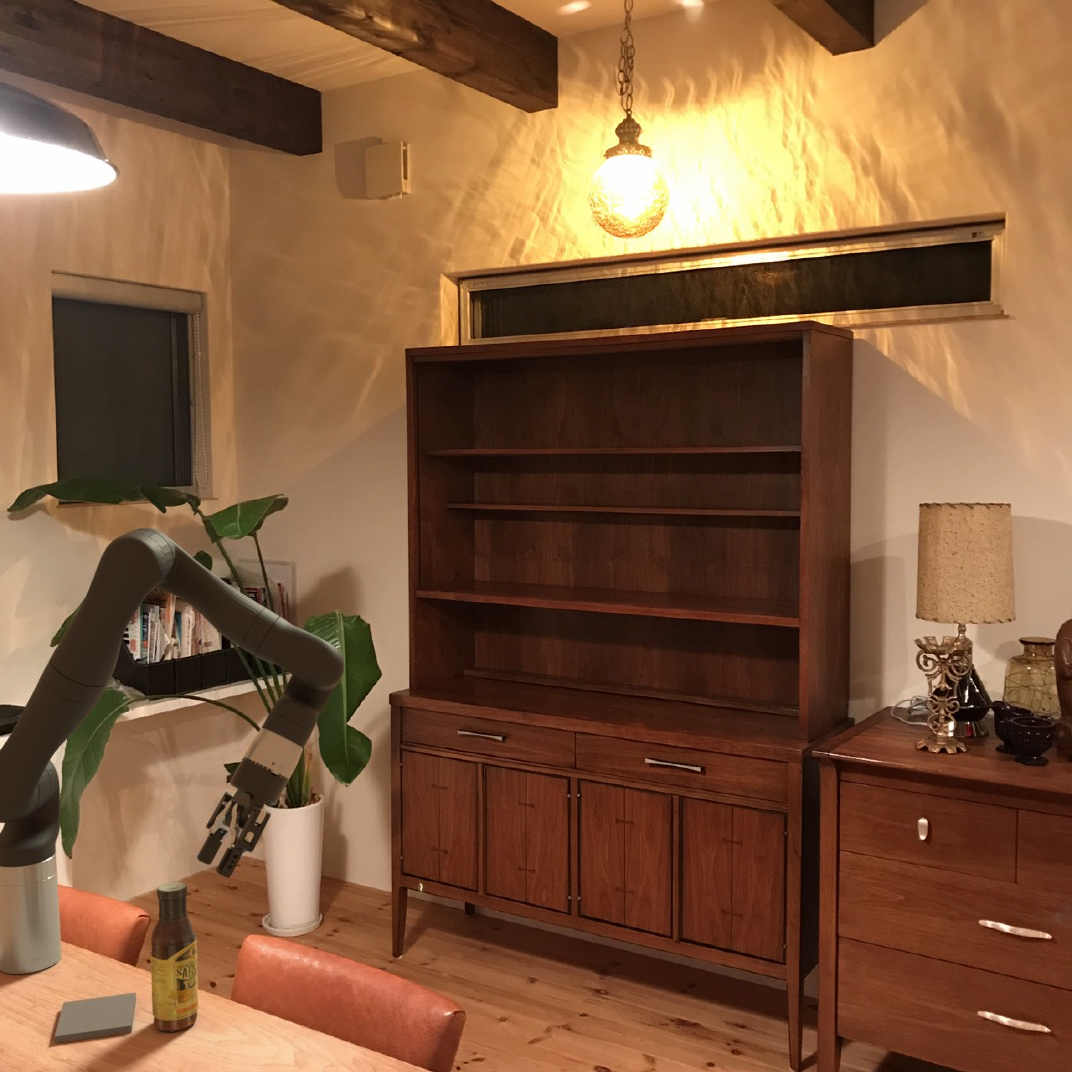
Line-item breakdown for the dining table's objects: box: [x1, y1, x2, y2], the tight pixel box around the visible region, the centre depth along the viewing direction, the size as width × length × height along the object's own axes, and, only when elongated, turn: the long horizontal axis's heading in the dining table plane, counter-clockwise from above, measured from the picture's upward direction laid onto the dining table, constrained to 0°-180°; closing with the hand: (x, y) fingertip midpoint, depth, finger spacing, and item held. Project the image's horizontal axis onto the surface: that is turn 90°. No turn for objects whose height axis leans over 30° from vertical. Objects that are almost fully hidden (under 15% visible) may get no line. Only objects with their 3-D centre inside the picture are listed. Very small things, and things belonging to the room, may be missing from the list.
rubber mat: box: [54, 992, 137, 1044], centre depth 166 cm, size 10×10×1 cm
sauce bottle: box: [150, 881, 199, 1033], centre depth 164 cm, size 6×6×20 cm
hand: (212, 868), depth 168 cm, fingers open, 8 cm apart
